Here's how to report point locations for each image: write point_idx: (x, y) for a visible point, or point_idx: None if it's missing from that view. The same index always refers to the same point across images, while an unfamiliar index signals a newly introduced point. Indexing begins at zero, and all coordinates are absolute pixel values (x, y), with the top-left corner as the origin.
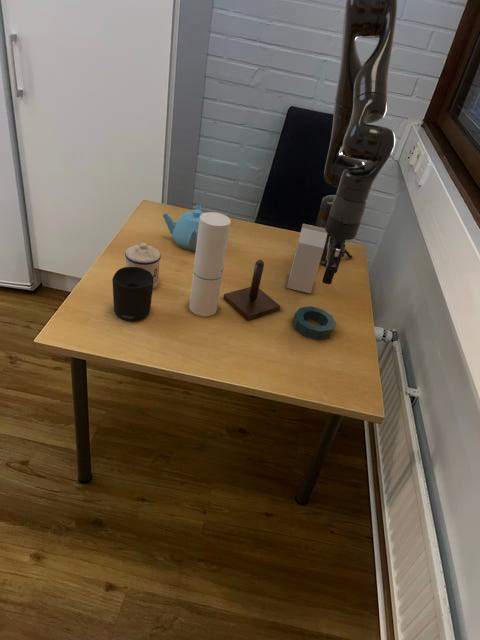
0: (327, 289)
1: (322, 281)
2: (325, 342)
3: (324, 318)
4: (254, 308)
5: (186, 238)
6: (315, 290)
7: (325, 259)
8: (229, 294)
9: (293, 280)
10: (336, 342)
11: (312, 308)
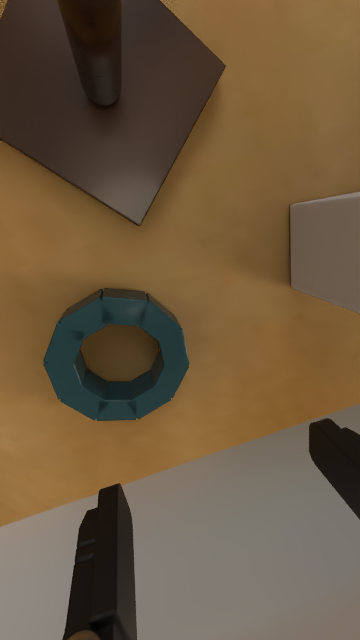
0: (336, 323)
1: (100, 493)
2: None
3: (154, 378)
4: (44, 123)
5: None
6: None
7: (357, 450)
8: None
9: (313, 221)
10: (93, 420)
11: (172, 338)
